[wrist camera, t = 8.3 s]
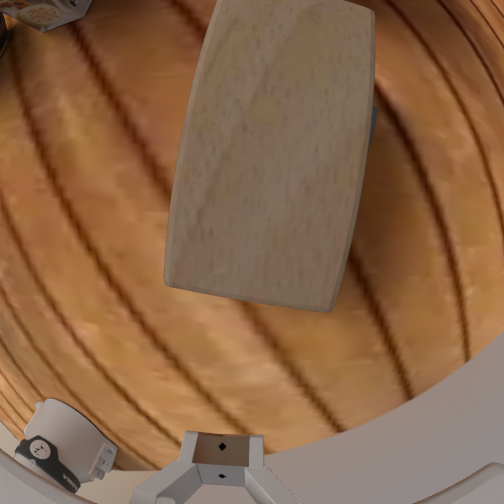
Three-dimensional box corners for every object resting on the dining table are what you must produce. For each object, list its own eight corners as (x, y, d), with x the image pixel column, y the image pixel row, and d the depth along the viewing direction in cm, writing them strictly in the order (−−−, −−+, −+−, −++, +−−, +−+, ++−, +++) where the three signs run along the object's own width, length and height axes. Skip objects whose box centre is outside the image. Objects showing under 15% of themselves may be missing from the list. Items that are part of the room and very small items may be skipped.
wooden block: (306, 267, 24) (339, 63, 20) (334, 316, 15) (377, 9, 10) (198, 249, 24) (235, 44, 20) (160, 288, 15) (222, -20, 10)
